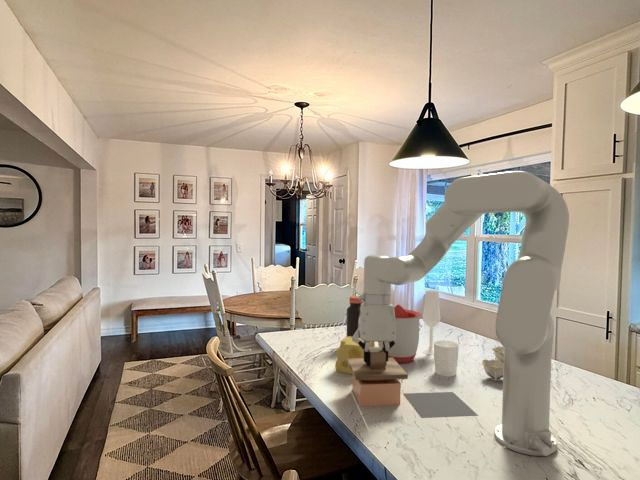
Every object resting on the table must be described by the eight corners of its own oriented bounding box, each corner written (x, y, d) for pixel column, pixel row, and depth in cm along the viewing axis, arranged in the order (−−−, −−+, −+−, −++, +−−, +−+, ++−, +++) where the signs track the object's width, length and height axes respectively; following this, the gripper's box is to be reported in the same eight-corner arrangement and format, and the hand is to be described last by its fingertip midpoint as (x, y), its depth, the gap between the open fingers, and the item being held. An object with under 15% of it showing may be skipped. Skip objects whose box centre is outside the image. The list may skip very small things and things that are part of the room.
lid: (407, 378, 109) (408, 357, 108) (356, 380, 107) (356, 358, 107) (392, 361, 122) (393, 342, 122) (346, 362, 121) (347, 343, 121)
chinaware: (491, 362, 152) (487, 318, 152) (541, 365, 144) (537, 318, 144) (481, 388, 127) (476, 335, 127) (542, 393, 119) (537, 337, 119)
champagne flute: (432, 356, 153) (434, 292, 153) (418, 351, 159) (419, 290, 158) (443, 352, 158) (444, 291, 157) (428, 348, 163) (430, 288, 162)
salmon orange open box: (400, 405, 110) (400, 383, 110) (360, 406, 109) (360, 384, 109) (388, 389, 121) (389, 369, 121) (352, 390, 120) (352, 370, 120)
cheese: (335, 372, 135) (335, 342, 135) (348, 362, 145) (348, 334, 144) (364, 377, 130) (364, 346, 130) (375, 367, 140) (376, 338, 140)
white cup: (459, 379, 130) (460, 347, 130) (434, 376, 132) (434, 346, 131) (456, 370, 138) (457, 341, 138) (432, 368, 139) (433, 339, 139)
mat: (478, 416, 104) (478, 415, 104) (421, 418, 102) (421, 417, 102) (452, 392, 119) (452, 391, 119) (402, 394, 117) (402, 393, 117)
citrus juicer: (377, 349, 161) (378, 299, 160) (422, 355, 154) (423, 302, 154) (366, 361, 146) (367, 305, 146) (415, 368, 140) (416, 310, 139)
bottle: (363, 344, 168) (364, 295, 167) (363, 348, 161) (364, 298, 161) (346, 343, 169) (347, 295, 168) (346, 348, 162) (346, 298, 161)
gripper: (350, 302, 109) (348, 369, 110) (410, 301, 111) (408, 368, 112) (345, 297, 117) (344, 360, 117) (401, 297, 119) (400, 359, 119)
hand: (375, 363), depth 115 cm, fingers closed on lid, 4 cm apart
